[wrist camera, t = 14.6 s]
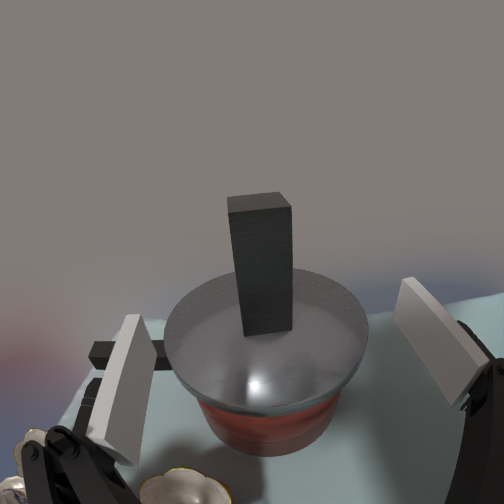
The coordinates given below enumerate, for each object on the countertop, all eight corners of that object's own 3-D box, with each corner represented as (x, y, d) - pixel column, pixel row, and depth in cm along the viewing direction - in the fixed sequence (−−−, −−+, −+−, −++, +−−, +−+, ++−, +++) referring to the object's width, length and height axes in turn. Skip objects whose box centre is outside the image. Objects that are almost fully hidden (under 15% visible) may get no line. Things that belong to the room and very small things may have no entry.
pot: (317, 343, 37) (323, 273, 32) (354, 440, 22) (386, 380, 17) (139, 361, 36) (110, 297, 30) (119, 458, 21) (61, 404, 16)
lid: (327, 270, 32) (330, 172, 27) (398, 384, 16) (450, 239, 11) (179, 288, 31) (158, 189, 26) (156, 423, 15) (77, 284, 10)
